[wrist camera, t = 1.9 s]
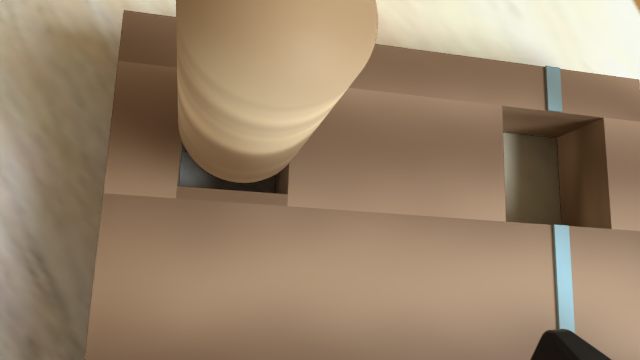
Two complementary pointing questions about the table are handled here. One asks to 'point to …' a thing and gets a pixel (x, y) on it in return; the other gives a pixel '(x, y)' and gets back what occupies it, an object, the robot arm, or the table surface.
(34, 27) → the table surface
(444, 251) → the subfloor panel
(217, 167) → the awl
